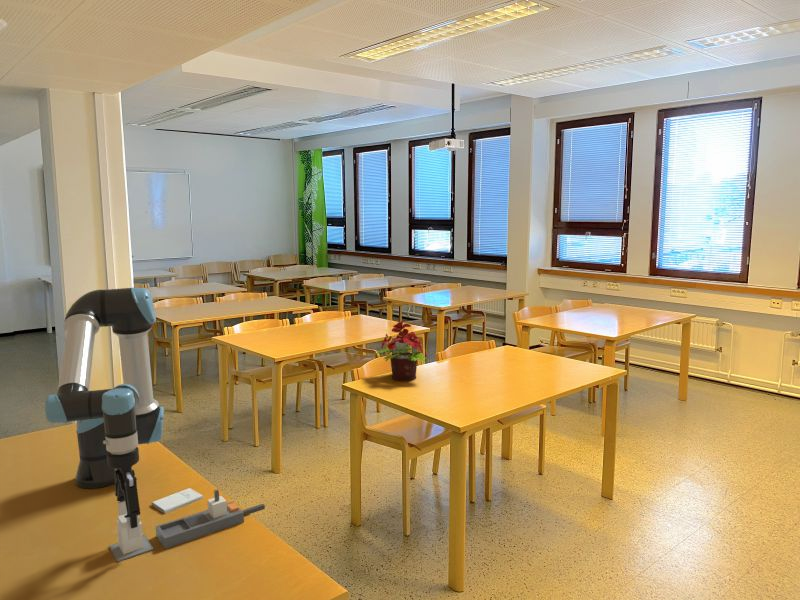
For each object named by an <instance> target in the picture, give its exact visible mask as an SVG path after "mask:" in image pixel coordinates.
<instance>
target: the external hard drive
mask: <svg viewBox="0 0 800 600" xmlns="http://www.w3.org/2000/svg"><path fill="white" fill-rule="evenodd" d="M202 499H204V496H203V495H202V494H201V493H200V492H198V491H196V490H194V489H193V488H191V487H188V488H186V489H183V490H181V491H177V492H175V493H173V494H170V495H167V496H164V497H163V498H160V499H157V500H154V501H152V502H151V506H152V507H154V508H155V509H157V510H158V511H160V512H162V513H163V514H168V513H170V512H173V511H176V510H178V509H180V508H183V507H185V506H188V505H191V504H192V503H193V504H194V503H195V502H198V501H200V500H202Z"/></svg>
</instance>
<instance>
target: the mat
mask: <svg viewBox="0 0 800 600" xmlns="http://www.w3.org/2000/svg"><path fill="white" fill-rule="evenodd" d="M143 544H144V548H141V549H138V550H135V551H132V552H129V553H126V554H123V552H122V551H121V549H120V547H119V541H118V542H116V543H113V544H110V545H108V547H109V550H110V551H111V553H112V555H113V557H114V559H115V560H116V562H117V563H119V562H123V561H125V560H128V559H131V558H134V557H137V556H140V555H143V554H146V553H149V552H152V551H154V550H155V548H154V547H153V545H152V543H151V542H150V540H149V539H148V537H147V536H146V535H145V534H143Z"/></svg>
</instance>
